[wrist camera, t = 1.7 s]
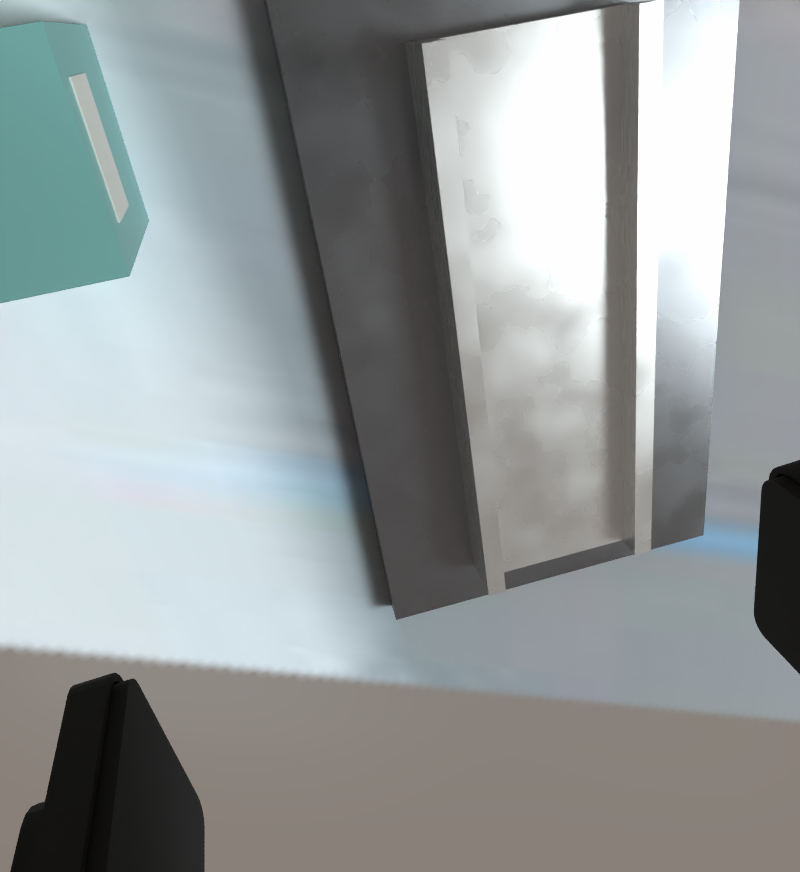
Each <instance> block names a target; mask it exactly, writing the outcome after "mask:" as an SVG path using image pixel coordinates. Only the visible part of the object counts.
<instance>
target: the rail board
mask: <svg viewBox="0 0 800 872" xmlns="http://www.w3.org/2000/svg"><path fill="white" fill-rule="evenodd" d="M265 5H266V9H267V14H268V19H269V24H270V28H271V33H272V38H273V43H274V47H275V52H276V57H277V62H278V66H279V71H280V76H281V81H282V85H283V90H284V95H285V100H286V104H287V109H288V114H289V119H290V123H291V128H292V133H293V138H294V143H295V147H296V152H297V157H298V162H299V166H300V171H301V176H302V181H303V185H304V190H305V195H306V200H307V204H308V209H309V214H310V219H311V223H312V228H313V233H314V238H315V242H316V247H317V252H318V257H319V261H320V266H321V271H322V276H323V280H324V285H325V290H326V295H327V299H328V304H329V309H330V314H331V318H332V323H333V328H334V333H335V337H336V342H337V347H338V352H339V356H340V361H341V366H342V371H343V375H344V380H345V385H346V390H347V395H348V399H349V404H350V409H351V414H352V418H353V423H354V428H355V433H356V437H357V442H358V447H359V452H360V456H361V461H362V466H363V471H364V475H365V480H366V485H367V490H368V494H369V499H370V504H371V509H372V513H373V518H374V523H375V528H376V532H377V537H378V542H379V547H380V551H381V556H382V561H383V566H384V570H385V575H386V580H387V585H388V589H389V594H390V599H391V604H392V608H393V611H394V614H395V617H396V620H397V619H401V618H405V617H408V616H412V615H415V614H419V613H423V612H426V611H430V610H434V609H437V608H441V607H444V606H448V605H452V604H455V603H459V602H463V601H466V600H470V599H473V598H477V597H481V596H484V595H489V596H490V595H493V594H497V593H501V592H504V591H506V589H510V588H513V587H517V586H521V585H524V584H528V583H531V582H535V581H539V580H542V579H546V578H550V577H553V576H557V575H560V574H564V573H568V572H571V571H575V570H579V569H582V568H586V567H589V566H593V565H597V564H600V563H604V562H607V561H611V560H615V559H618V558H622V557H626V556H629V555H633V554H634V555H638V554H642V553H645V552H649V551H651V549H655V548H658V547H662V546H665V545H669V544H673V543H676V542H680V541H684V540H687V539H691V538H694V537H698V536H702V535H703V533H704V518H705V503H706V488H707V473H708V459H709V444H710V429H711V414H712V399H713V384H714V369H715V354H716V340H717V325H718V310H719V295H720V280H721V265H722V250H723V236H724V221H725V206H726V191H727V176H728V161H729V146H730V132H731V117H732V102H733V87H734V72H735V57H736V42H737V28H738V13H739V0H265Z"/></svg>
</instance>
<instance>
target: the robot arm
mask: <svg viewBox="0 0 800 872" xmlns="http://www.w3.org/2000/svg"><path fill="white" fill-rule="evenodd" d="M754 617H755V621H756V624H757V626H758V628H759V630H760V632H761V633H762V635H763V636H764V637H765V638H766V639H767V640H768V641H769V642H770V643H771V644H772V646H773V647H774V648H775V649H776V650H777V651H778V652H779V653H780V654H781V655H782V656H783V657H784V658H785V659H786V660H787V661H788V662H789V663H790V664H791V665H792V667H793V668H794V669H795V670H796V671H797V672H798V673H799V674H800V460H798V461H795V462H792V463H789V464H785V465H782V466H779V467H776V468H774V469H773V470H772V471H771V473H770V476H769V480H768V481H765V482H764V484H763V486H762V492H761V507H760V523H759V539H758V555H757V571H756V587H755V602H754ZM10 872H204V817H203V811H202V807H201V803H200V800H199V798H198V796H197V794H196V792H195V790H194V788H193V787H192V784H191V782H190V781H189V779H188V777H187V775H186V773H185V771H184V769H183V767H182V765H181V763H180V762H179V760H178V758H177V756H176V754H175V752H174V750H173V748H172V746H171V745H170V743H169V741H168V739H167V737H166V735H165V733H164V731H163V729H162V727H161V726H160V724H159V722H158V720H157V718H156V716H155V714H154V712H153V710H152V709H151V707H150V705H149V703H148V701H147V699H146V698H145V695H144V693H143V692H142V690H141V688H140V686H139V684H138V683H137V681H136V680H135V679H130V680H126V681H123V680H122V678H121V677H120V675H118V674H117V673H112V674H109V675H105V676H102V677H99V678H96V679H93V680H89V681H86V682H83V683H80V684H77V685H74V686H72V687H71V688H70V690H69V693H68V696H67V700H66V705H65V710H64V715H63V720H62V724H61V729H60V733H59V738H58V743H57V748H56V752H55V758H54V762H53V766H52V771H51V776H50V781H49V785H48V790H47V795H46V799H45V802H42V803H38V804H36V805H34V806H32V807H31V808H30V809H29V811H28V812H27V813H26V815H25V817H24V820H23V823H22V826H21V829H20V833H19V838H18V842H17V846H16V850H15V854H14V859H13V863H12V867H11V871H10Z"/></svg>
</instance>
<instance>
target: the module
mask: <svg viewBox="0 0 800 872" xmlns="http://www.w3.org/2000/svg"><path fill="white" fill-rule="evenodd" d="M148 222H149V219H148V216H147V213H146V209H145V206H144V203H143V200H142V197H141V194H140V191H139V187H138V184H137V181H136V178H135V175H134V172H133V169H132V166H131V162H130V159H129V156H128V153H127V150H126V147H125V144H124V140H123V137H122V134H121V131H120V128H119V125H118V122H117V118H116V115H115V112H114V109H113V106H112V103H111V100H110V96H109V93H108V90H107V87H106V84H105V81H104V78H103V74H102V71H101V68H100V65H99V62H98V59H97V56H96V52H95V49H94V46H93V43H92V40H91V37H90V34H89V30H88V27H87V25H80V24H69V23H57V22H46V21H39V22H33V23H27V24H21V25H16V26H10V27H4V28H0V303H4V302H9V301H14V300H18V299H23V298H28V297H33V296H37V295H42V294H47V293H52V292H57V291H61V290H66V289H71V288H76V287H80V286H85V285H90V284H95V283H99V282H104V281H109V280H114V279H118V278H123V277H128V276H130V273H131V270H132V268H133V265H134V262H135V259H136V256H137V253H138V250H139V247H140V245H141V242H142V239H143V236H144V233H145V230H146V227H147V225H148Z"/></svg>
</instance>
